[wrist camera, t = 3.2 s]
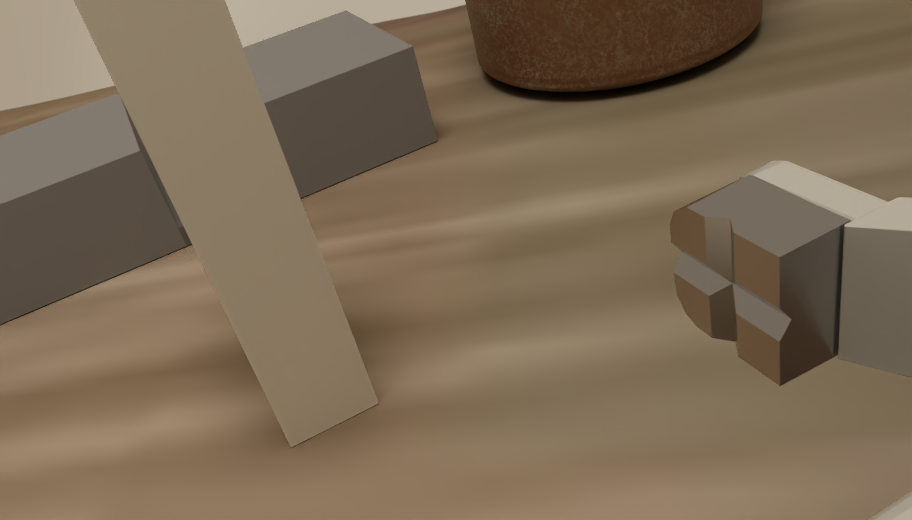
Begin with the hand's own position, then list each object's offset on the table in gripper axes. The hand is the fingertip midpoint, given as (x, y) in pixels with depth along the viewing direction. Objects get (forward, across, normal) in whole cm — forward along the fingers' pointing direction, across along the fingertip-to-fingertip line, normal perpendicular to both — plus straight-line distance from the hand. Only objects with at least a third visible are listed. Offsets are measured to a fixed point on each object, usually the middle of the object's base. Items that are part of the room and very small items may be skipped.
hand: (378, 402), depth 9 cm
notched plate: (+16, 0, +11) cm, 19 cm away
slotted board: (+34, 0, +11) cm, 36 cm away
